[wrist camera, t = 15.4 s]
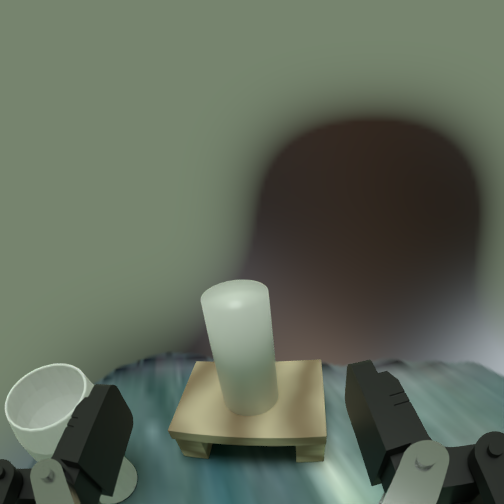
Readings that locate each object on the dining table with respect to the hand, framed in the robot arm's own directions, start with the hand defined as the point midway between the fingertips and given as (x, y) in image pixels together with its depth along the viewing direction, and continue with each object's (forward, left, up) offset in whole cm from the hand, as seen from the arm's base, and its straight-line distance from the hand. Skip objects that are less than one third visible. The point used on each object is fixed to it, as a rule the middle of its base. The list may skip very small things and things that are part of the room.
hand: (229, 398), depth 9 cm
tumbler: (-5, -16, -18) cm, 25 cm away
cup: (+15, -14, -24) cm, 31 cm away
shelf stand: (-5, -16, -24) cm, 29 cm away
